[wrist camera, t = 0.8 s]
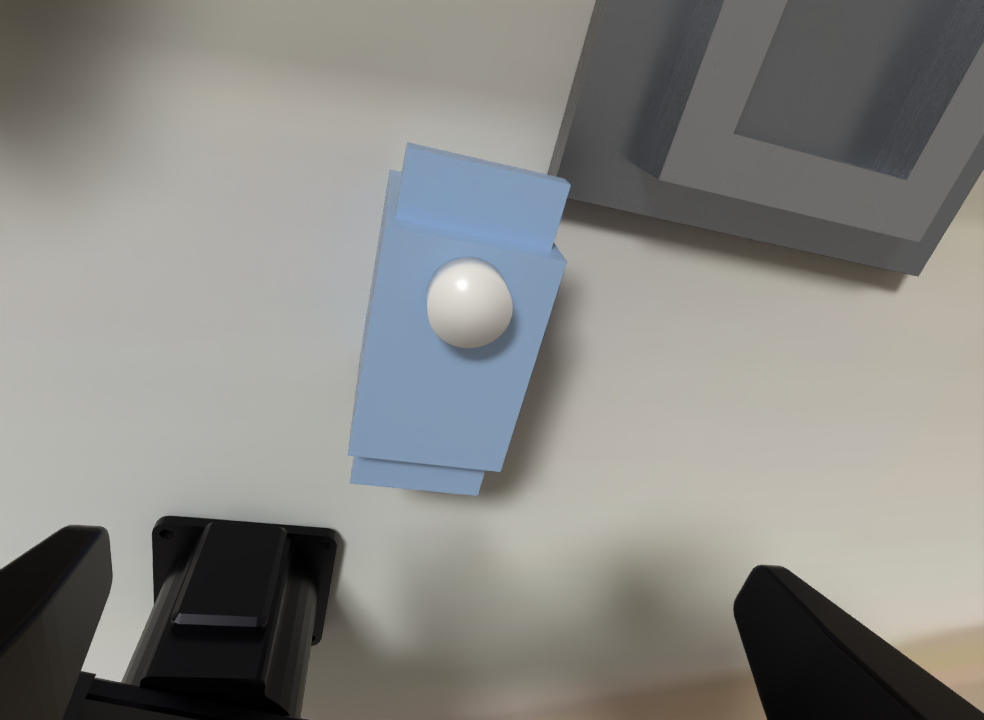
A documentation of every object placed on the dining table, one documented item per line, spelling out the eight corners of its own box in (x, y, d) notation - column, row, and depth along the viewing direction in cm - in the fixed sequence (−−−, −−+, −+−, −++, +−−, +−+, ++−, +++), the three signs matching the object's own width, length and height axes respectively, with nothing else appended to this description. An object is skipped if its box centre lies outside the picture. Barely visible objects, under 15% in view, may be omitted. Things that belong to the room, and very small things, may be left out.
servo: (468, 404, 21) (490, 535, 16) (354, 389, 20) (337, 522, 15) (536, 147, 17) (599, 204, 12) (398, 113, 16) (397, 159, 11)
